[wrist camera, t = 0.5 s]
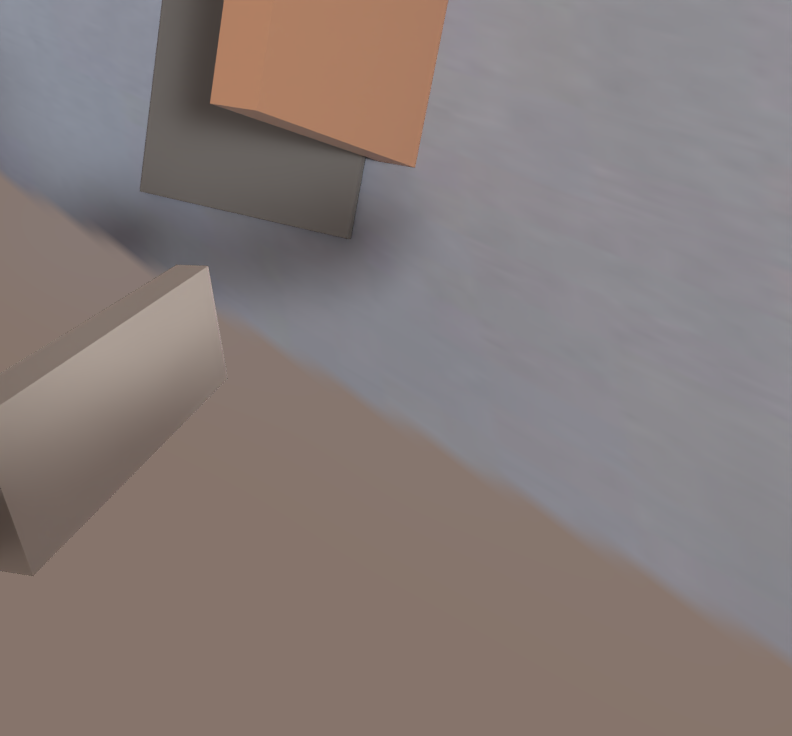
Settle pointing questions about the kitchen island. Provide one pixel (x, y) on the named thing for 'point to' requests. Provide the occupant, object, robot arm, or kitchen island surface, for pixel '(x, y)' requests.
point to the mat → (235, 140)
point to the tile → (332, 69)
